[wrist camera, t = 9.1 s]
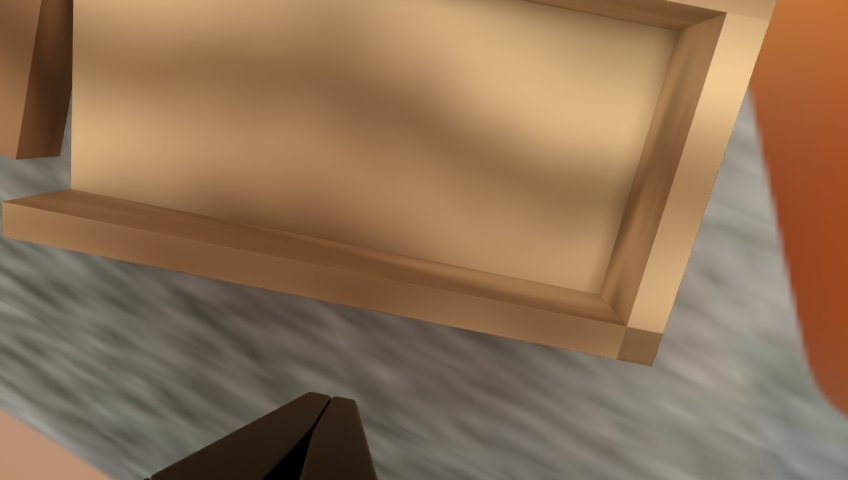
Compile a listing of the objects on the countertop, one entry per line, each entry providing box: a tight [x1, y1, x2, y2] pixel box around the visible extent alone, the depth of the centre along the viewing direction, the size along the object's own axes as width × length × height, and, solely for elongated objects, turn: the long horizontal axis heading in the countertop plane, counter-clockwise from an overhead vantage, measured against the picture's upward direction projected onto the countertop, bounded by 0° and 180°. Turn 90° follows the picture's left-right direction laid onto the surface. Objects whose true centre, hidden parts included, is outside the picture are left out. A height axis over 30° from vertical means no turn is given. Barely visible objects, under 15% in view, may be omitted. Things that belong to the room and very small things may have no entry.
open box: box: [2, 0, 777, 366], centre depth 17 cm, size 12×22×4 cm, turn 79°
